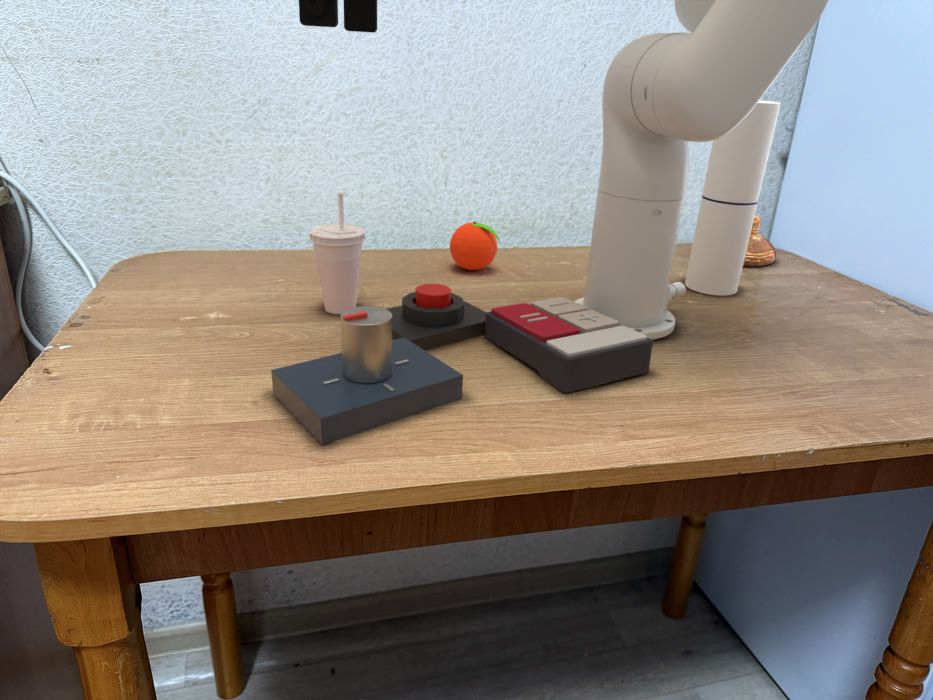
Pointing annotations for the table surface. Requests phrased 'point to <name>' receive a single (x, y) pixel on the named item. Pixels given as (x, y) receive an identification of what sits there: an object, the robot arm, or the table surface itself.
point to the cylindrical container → (730, 202)
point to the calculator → (569, 343)
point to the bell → (758, 248)
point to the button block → (436, 322)
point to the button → (433, 296)
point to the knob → (366, 344)
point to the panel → (364, 392)
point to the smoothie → (338, 261)
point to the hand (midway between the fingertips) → (341, 29)
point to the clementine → (474, 246)
